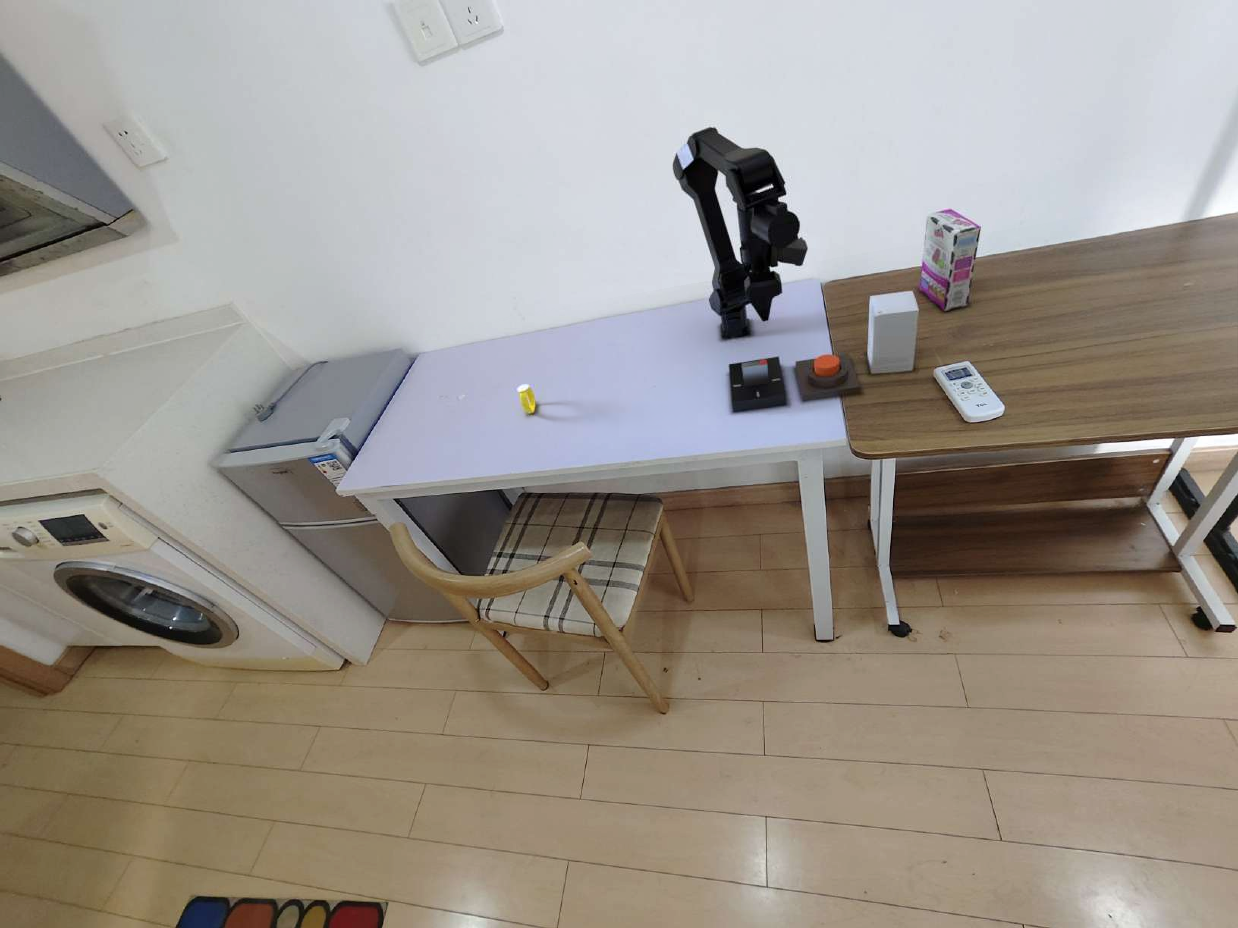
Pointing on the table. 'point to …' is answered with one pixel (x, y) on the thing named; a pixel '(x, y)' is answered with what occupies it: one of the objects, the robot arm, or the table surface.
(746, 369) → the burner knob
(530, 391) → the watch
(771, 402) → the hob panel
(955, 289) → the candy bar box
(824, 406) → the table surface
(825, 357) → the button
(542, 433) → the table surface
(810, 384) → the brown button base
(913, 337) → the white packaging box
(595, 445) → the table surface
